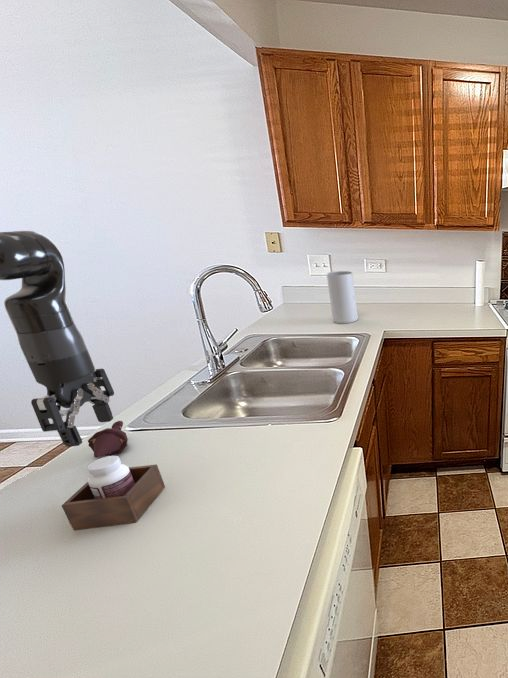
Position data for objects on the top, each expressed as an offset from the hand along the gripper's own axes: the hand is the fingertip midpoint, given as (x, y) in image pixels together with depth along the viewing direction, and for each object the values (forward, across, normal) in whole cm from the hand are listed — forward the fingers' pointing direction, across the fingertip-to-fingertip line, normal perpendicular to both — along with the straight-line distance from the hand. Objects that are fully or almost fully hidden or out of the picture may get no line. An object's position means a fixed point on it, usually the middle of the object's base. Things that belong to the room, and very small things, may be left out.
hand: (91, 432), depth 75 cm
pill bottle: (+18, 0, 0) cm, 18 cm away
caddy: (+18, 0, 0) cm, 18 cm away
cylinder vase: (+18, -136, +29) cm, 140 cm away
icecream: (+18, -22, -14) cm, 32 cm away
